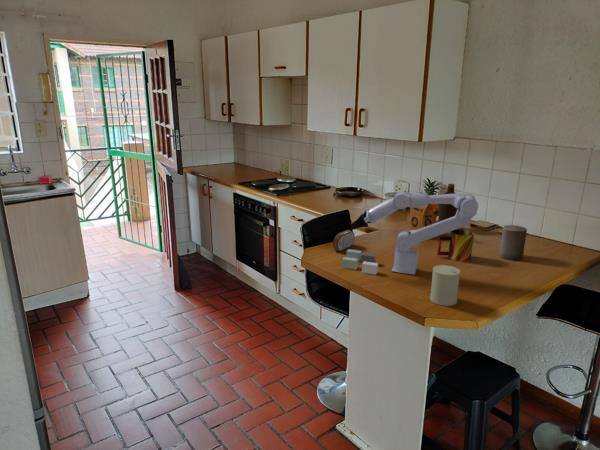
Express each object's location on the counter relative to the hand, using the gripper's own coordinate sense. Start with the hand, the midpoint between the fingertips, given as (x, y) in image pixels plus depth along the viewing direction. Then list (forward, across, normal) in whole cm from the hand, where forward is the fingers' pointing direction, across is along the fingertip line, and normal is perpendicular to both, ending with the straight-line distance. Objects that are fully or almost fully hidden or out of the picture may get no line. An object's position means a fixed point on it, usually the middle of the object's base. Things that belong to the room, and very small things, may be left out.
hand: (352, 226), depth 182 cm
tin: (+15, -20, +9) cm, 27 cm away
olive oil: (-26, -71, +30) cm, 81 cm away
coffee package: (-14, -56, +24) cm, 62 cm away
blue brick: (+9, -8, +14) cm, 18 cm away
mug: (-27, -25, +36) cm, 52 cm away
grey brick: (+2, +4, +20) cm, 21 cm away
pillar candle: (-48, -36, +48) cm, 77 cm away
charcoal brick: (+4, -6, +18) cm, 19 cm away
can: (-22, +21, +37) cm, 48 cm away
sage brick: (+9, +2, +15) cm, 18 cm away
